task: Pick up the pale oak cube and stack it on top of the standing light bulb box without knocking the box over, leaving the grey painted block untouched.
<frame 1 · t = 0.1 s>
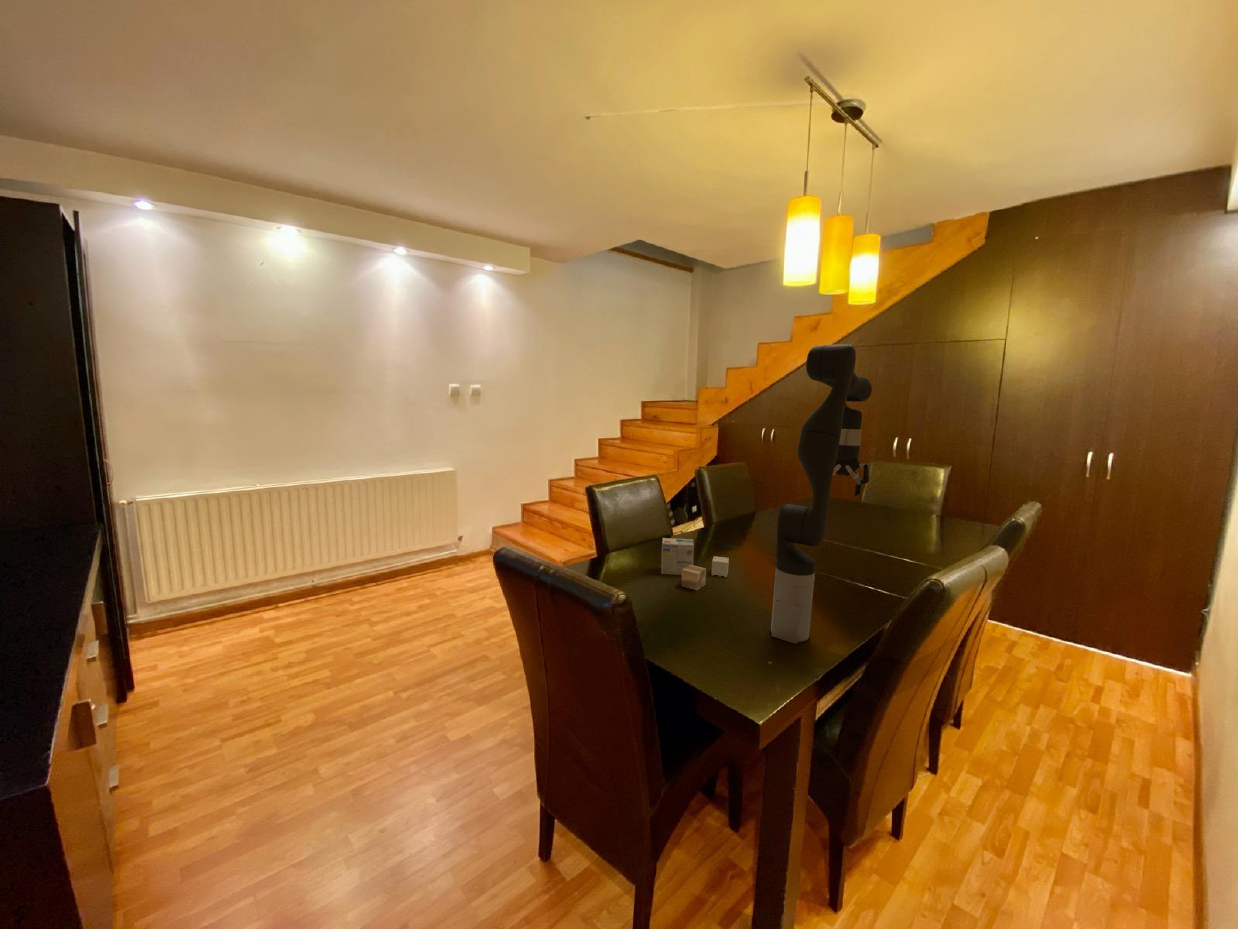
hand: (842, 493, 158), 29 cm above the table, fingers open, 8 cm apart
light bulb box: (676, 572, 167), on the table
grey block: (719, 573, 167), on the table
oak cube: (693, 585, 156), on the table
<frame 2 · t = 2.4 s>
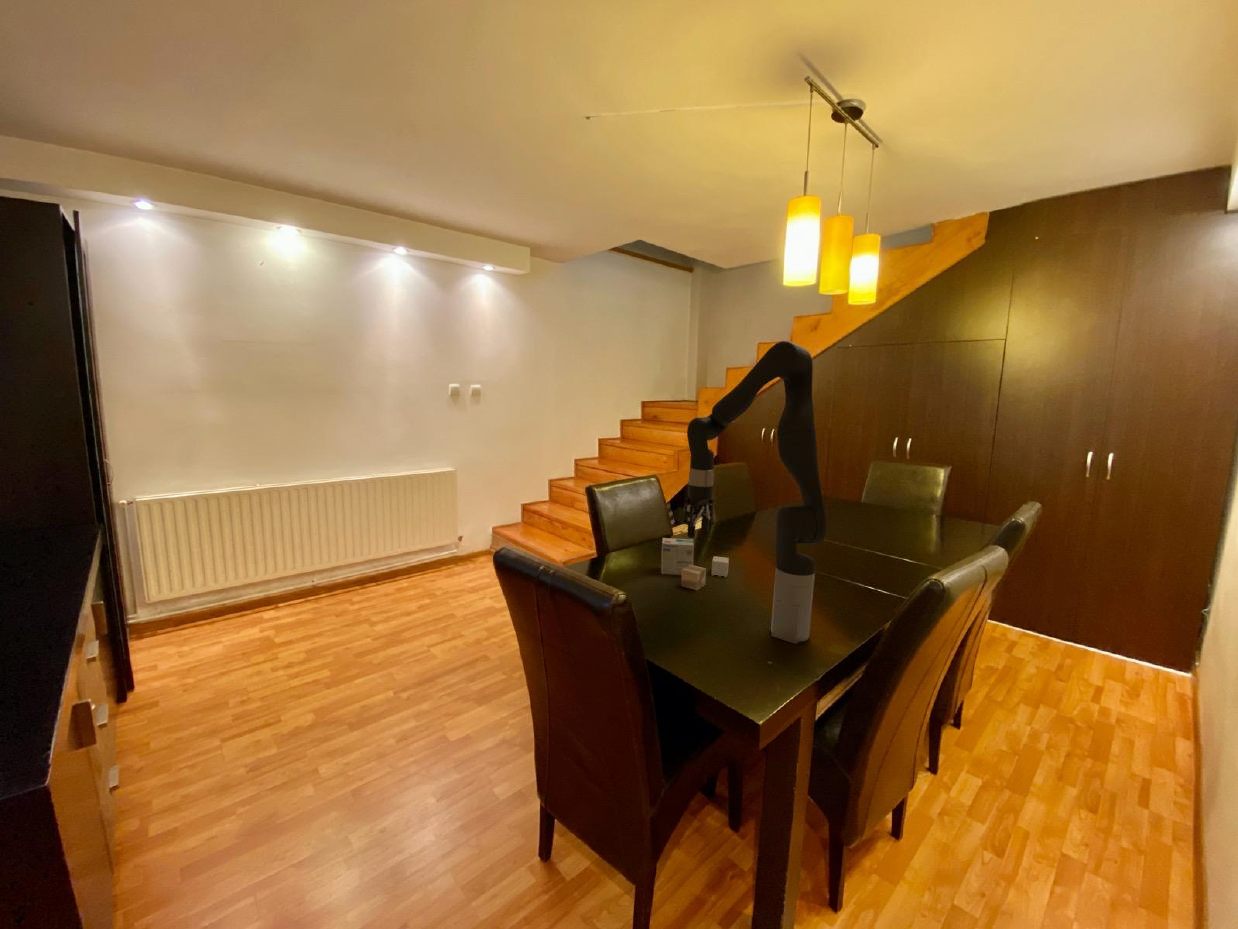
hand: (697, 534, 154), 16 cm above the table, fingers open, 8 cm apart
nothing on the table moved.
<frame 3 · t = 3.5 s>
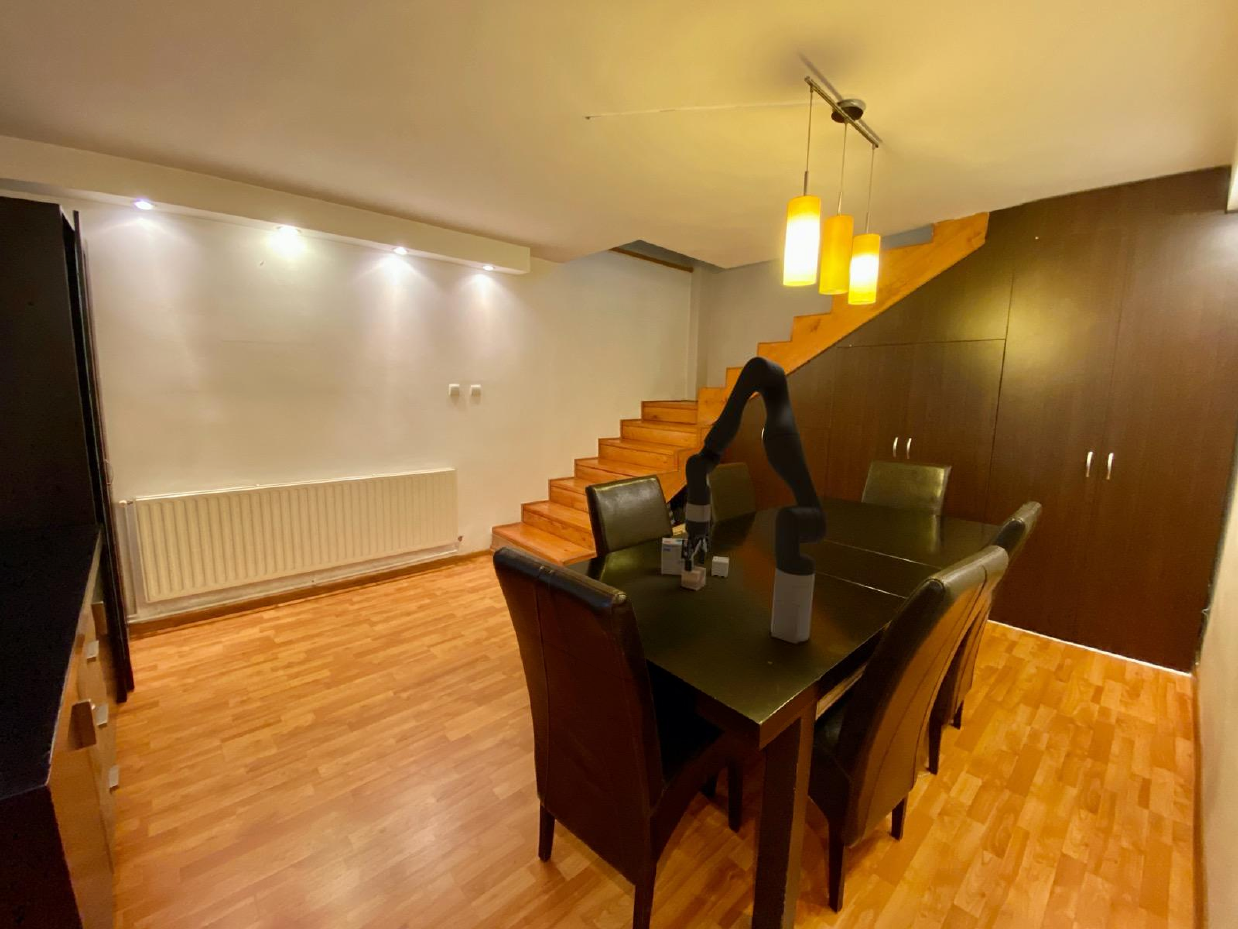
hand: (694, 567, 155), 6 cm above the table, fingers open, 8 cm apart
nothing on the table moved.
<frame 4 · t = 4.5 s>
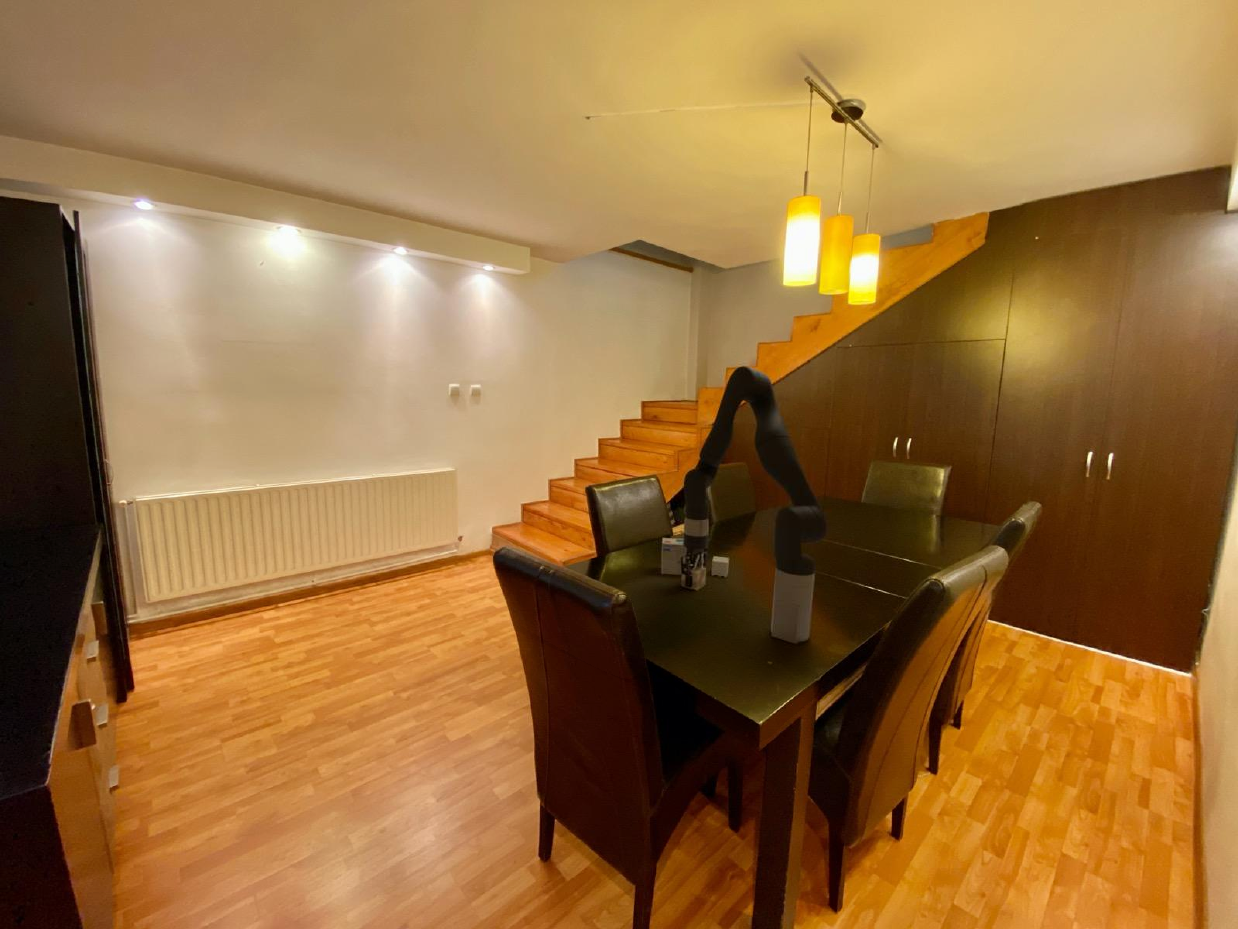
hand: (693, 583, 156), 1 cm above the table, fingers closed on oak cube, 5 cm apart
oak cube: (693, 585, 156), on the table, touching gripper
everything else where it was.
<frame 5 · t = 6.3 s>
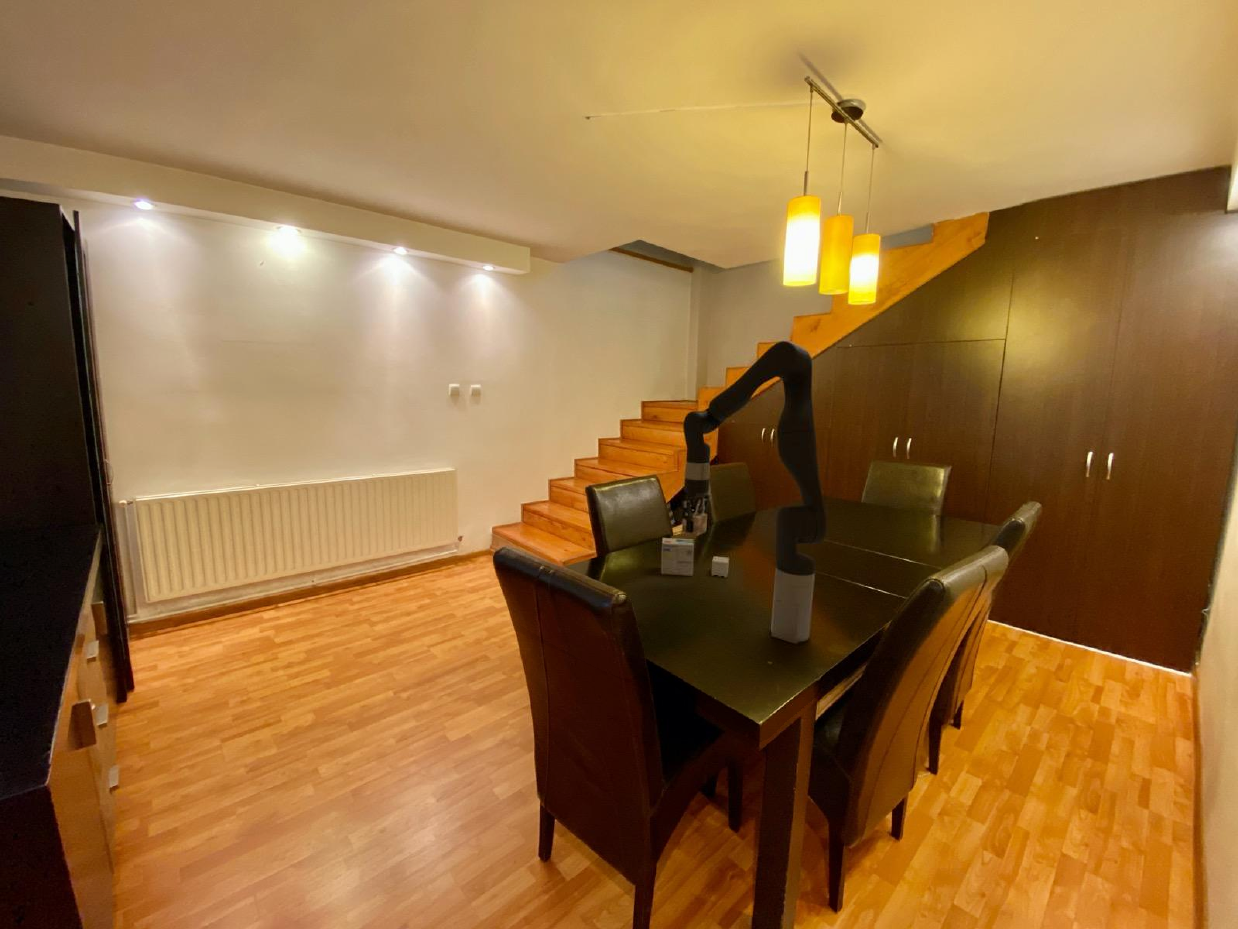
hand: (694, 529, 154), 18 cm above the table, fingers closed on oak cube, 5 cm apart
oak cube: (694, 531, 154), point 17 cm above the table, touching gripper
everything else where it was.
when the fingers open (13 cm above the table, at t = 8.3 s): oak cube drops 1 cm, resting on light bulb box.
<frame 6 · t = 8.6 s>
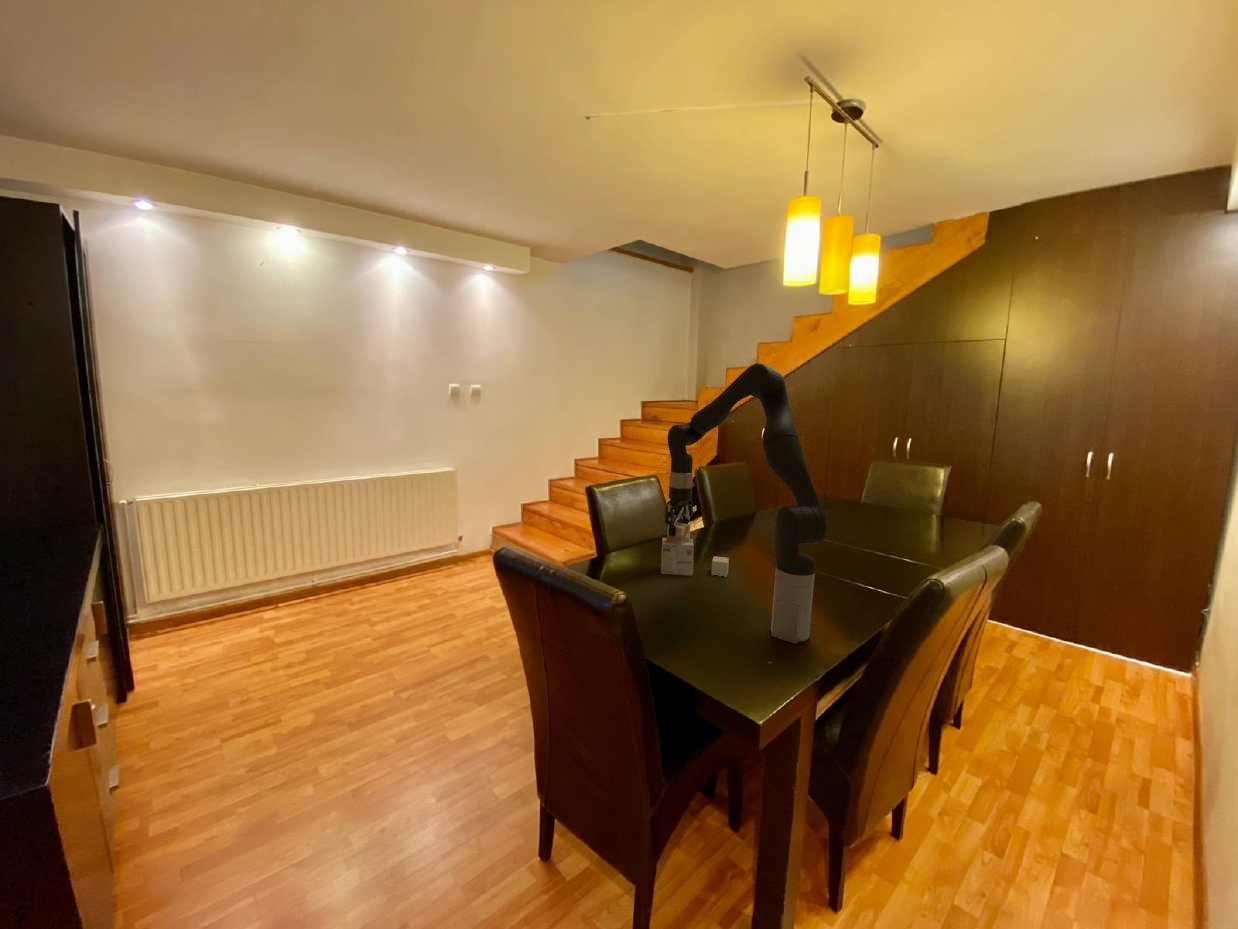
hand: (678, 533, 165), 13 cm above the table, fingers open, 8 cm apart
light bulb box: (676, 572, 167), on the table, touching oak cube
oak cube: (678, 541, 166), point 11 cm above the table, touching light bulb box
everything else where it was.
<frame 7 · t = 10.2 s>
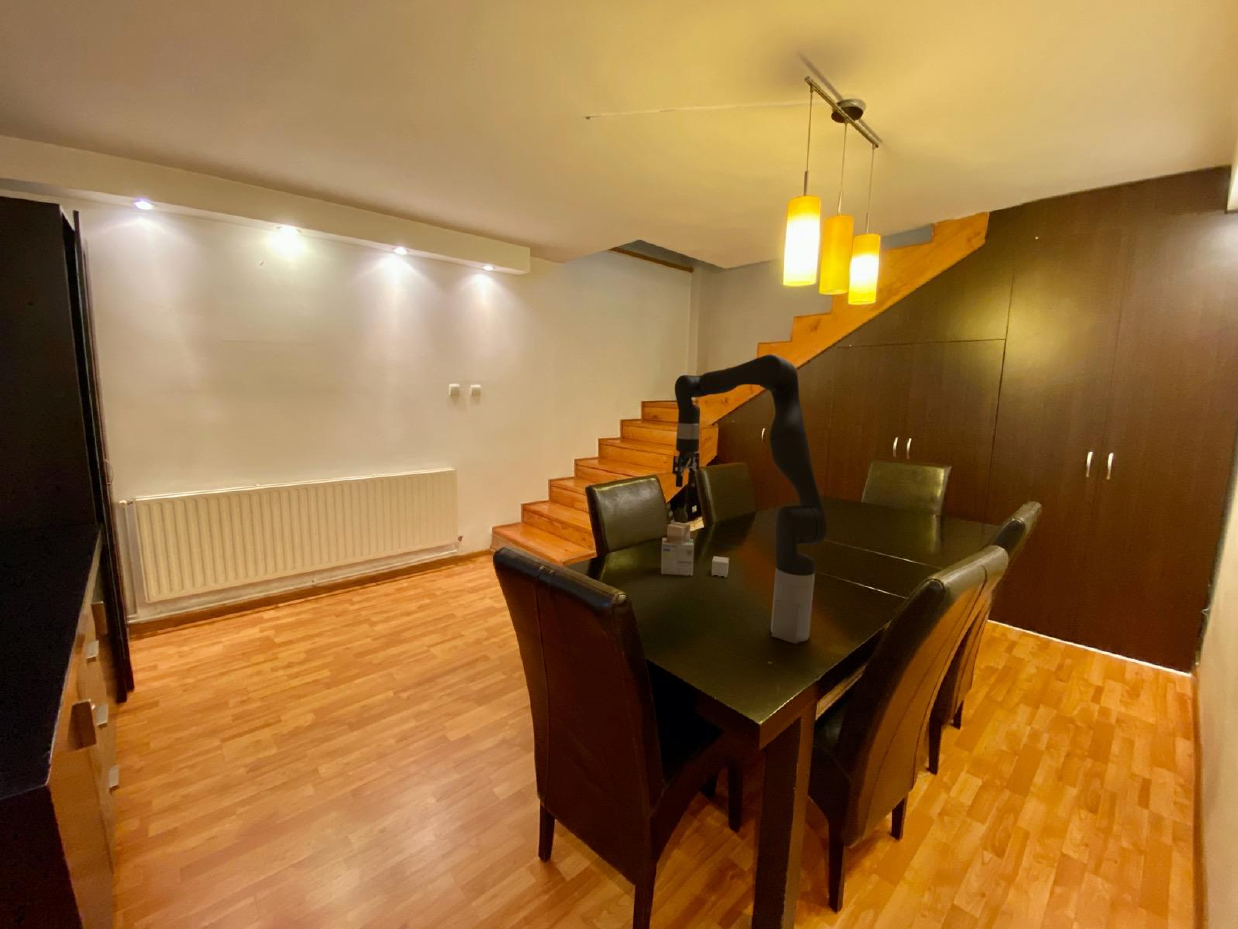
hand: (685, 485, 166), 29 cm above the table, fingers open, 8 cm apart
nothing on the table moved.
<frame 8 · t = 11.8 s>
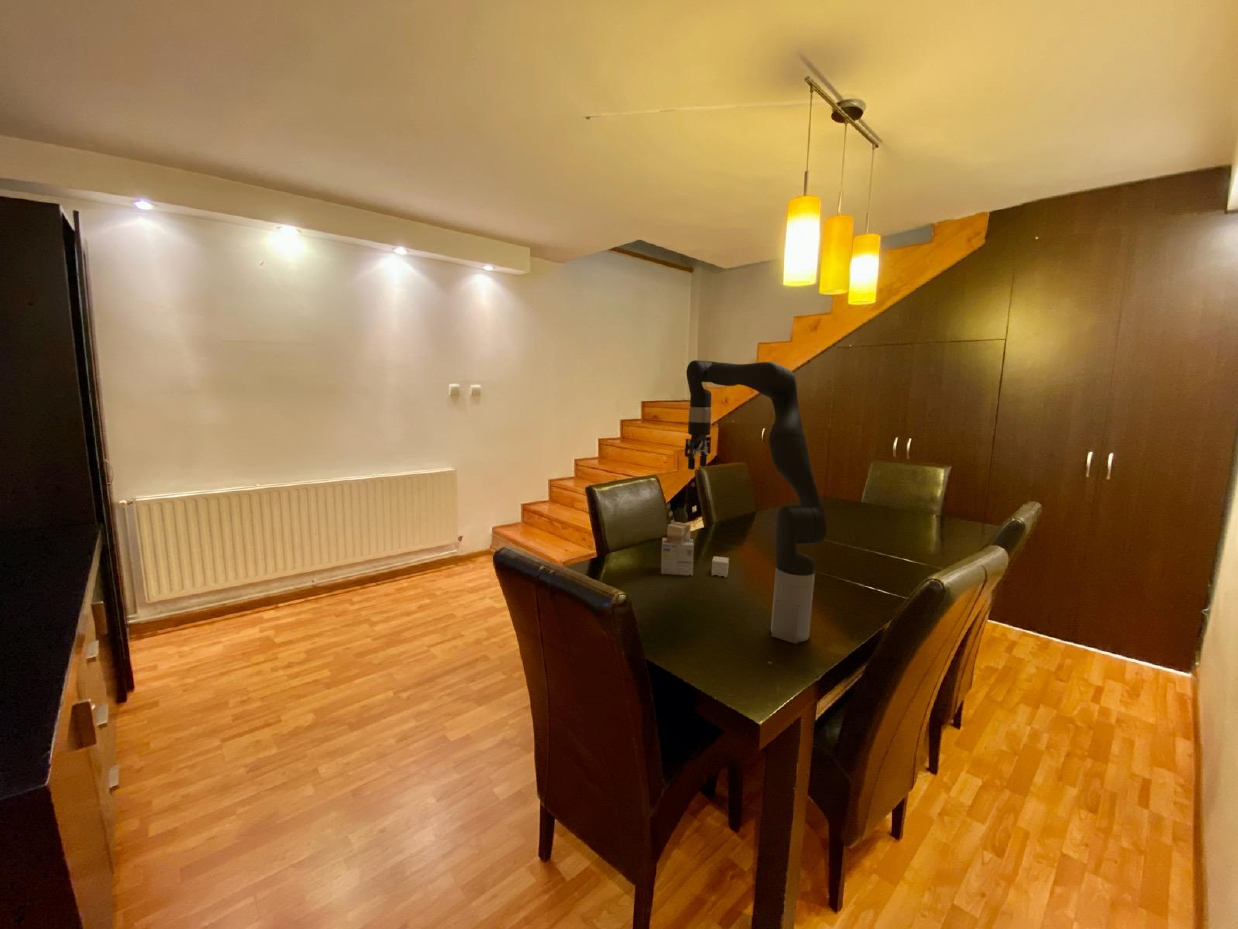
hand: (697, 467, 171), 34 cm above the table, fingers open, 8 cm apart
nothing on the table moved.
at the end: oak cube inside the target area on the light bulb box (0.1 cm from its centre), point 11.0 cm above the light bulb box's base; light bulb box tilted 0°; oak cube tilted 0° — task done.
